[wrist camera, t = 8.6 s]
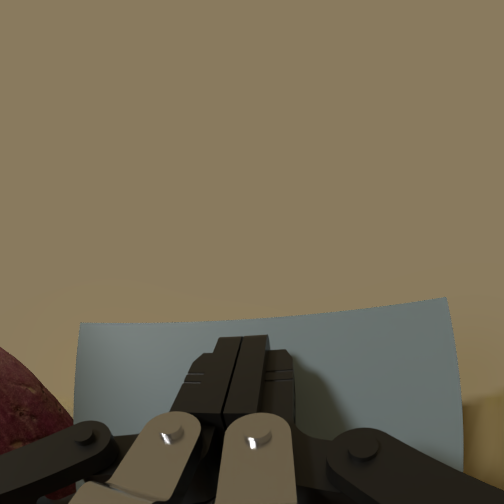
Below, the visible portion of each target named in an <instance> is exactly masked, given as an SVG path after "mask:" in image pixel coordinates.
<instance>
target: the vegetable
mask: <svg viewBox="0 0 504 504" xmlns="http://www.w3.org/2000/svg"><path fill="white" fill-rule="evenodd" d="M72 425H74V420H73V419H72V417H71V416H70V415H69V413H68V412H67V411H66V410H65V408H64V407H63V406H62V405H61V404H60V403H59V402H58V400H57V399H56V398H55V397H54V396H53V395H52V394H51V393H50V392H49V391H48V389H47V388H45V387H44V386H43V384H42V383H41V382H40V381H39V380H38V379H37V378H36V377H35V375H34V374H33V373H32V372H31V371H30V370H29V369H28V368H26V367H25V366H24V365H23V364H22V363H21V362H20V361H18V360H17V359H16V358H15V357H14V356H12V355H11V354H9V353H8V352H6V351H5V350H4V349H2V348H1V347H0V455H2V454H4V453H7V452H10V451H12V450H15V449H17V448H20V447H22V446H25V445H28V444H30V443H32V442H35V441H37V440H40V439H42V438H45V437H47V436H49V435H52V434H54V433H56V432H59V431H61V430H63V429H65V428H68V427H70V426H72ZM74 493H76V482H75V483H73V484H71V485H69V486H66V487H64V488H62V489H59V490H57V491H55V492H52V493H50V494H47V495H45V497H46V498H48V499H51V500H59V499H62V498H64V497H67V496H69V495H71V494H74Z"/></svg>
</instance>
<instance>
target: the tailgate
mask: <svg viewBox="0 0 504 504" xmlns="http://www.w3.org/2000/svg"><path fill="white" fill-rule="evenodd" d="M267 334H268V336H269V342H270V350H279V349H286V350H287V351H288V353H289V354H290V355H291V356H292V358H293V368H294V380H295V393H296V427H297V428H298V429H299V430H300V431H302V432H303V433H304V434H306V435H308V436H311V437H314V438H318V439H324V440H331V441H332V440H333V439H334V438H336V437H337V436H338V435H340V434H341V433H343V432H345V431H348V430H351V429H355V428H364V427H365V428H374V429H378V430H381V431H383V432H386V433H387V434H389V435H391V436H393V437H394V438H396V439H398V440H400V441H402V442H404V443H405V444H407V445H409V446H411V447H413V448H415V449H417V450H419V451H420V452H422V453H424V454H426V455H428V456H430V457H432V458H434V459H436V460H438V461H440V462H442V463H444V464H446V465H448V466H450V467H452V468H454V469H456V470H458V471H460V472H463V415H462V399H461V387H460V378H459V370H458V361H457V355H456V348H455V340H454V334H453V328H452V323H451V318H450V313H449V307H448V303H447V298H446V297H443V298H437V299H432V300H424V301H418V302H412V303H405V304H397V305H389V306H383V307H374V308H366V309H358V310H349V311H340V312H330V313H320V314H310V315H300V316H299V315H298V316H286V317H274V318H260V319H245V320H226V321H206V322H205V321H204V322H175V323H80V330H79V339H78V348H77V359H76V373H75V388H74V424H77V423H79V422H83V421H90V420H93V421H99V422H102V423H104V424H105V425H106V426H107V427H108V428H109V430H110V431H111V433H112V435H113V436H121V435H132V434H139V433H140V432H141V431H142V429H143V428H144V426H145V425H146V423H147V422H149V421H150V420H151V419H152V418H154V417H156V416H158V415H160V414H163V413H167V412H169V411H170V409H171V407H172V404H173V402H174V400H175V398H176V396H177V394H178V392H179V390H180V388H181V386H182V384H183V383H184V379H185V377H186V375H188V371H189V369H190V367H191V365H192V363H193V361H195V360H196V359H197V358H198V357H199V356H201V355H202V354H203V353H213V351H214V348H215V346H216V343H217V341H218V338H219V337H234V336H243V337H244V336H251V335H267ZM83 484H85V482H84V480H83V479H82V480H80V481H78V482H76V492H77V491H78V489H79V488H80V487H81V486H82V485H83Z"/></svg>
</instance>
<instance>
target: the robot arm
mask: <svg viewBox="0 0 504 504" xmlns="http://www.w3.org/2000/svg"><path fill="white" fill-rule="evenodd" d="M82 479H83V480H84V482H85V484H83V485H82V486H81V487H80V488H79V489H78V491H77V492H76V493H74V494H71V495H69V496H67V497H64V498H62V499H59V500H51V499H48V498H46V497H45V495H47V494H50V493H52V492H55V491H57V490H59V489H62V488H64V487H66V486H69V485H71V484H73V483H75V482H78V481H80V480H82ZM0 504H504V491H503V490H501V489H498V488H496V487H494V486H491V485H489V484H487V483H485V482H482V481H480V480H478V479H476V478H473V477H471V476H469V475H467V474H465V473H463V472H460V471H458V470H456V469H454V468H452V467H450V466H448V465H446V464H444V463H442V462H440V461H438V460H436V459H434V458H432V457H430V456H428V455H426V454H424V453H422V452H420V451H419V450H417V449H415V448H413V447H411V446H409V445H407V444H405V443H404V442H402V441H400V440H398V439H396V438H394V437H393V436H391V435H389V434H387V433H386V432H383V431H381V430H378V429H374V428H365V427H364V428H355V429H351V430H348V431H345V432H343V433H341V434H340V435H338V436H337V437H336V438H334V439H333V440H332V441H331V440H324V439H318V438H314V437H311V436H308V435H306V434H304V433H303V432H302V431H300V430H299V429H298V428H297V427H296V393H295V380H294V368H293V358H292V356H291V355H290V354H289V353H288V351H287V350H286V349H279V350H270V342H269V336H268V334H267V335H251V336H244V337H243V336H234V337H219V338H218V341H217V343H216V346H215V348H214V351H213V353H203V354H202V355H201V356H199V357H198V358H197V359H196V360H195V361H193V363H192V365H191V367H190V369H189V371H188V375H186V377H185V379H184V383H183V384H182V386H181V388H180V390H179V392H178V394H177V396H176V398H175V400H174V402H173V404H172V407H171V409H170V411H169V412H167V413H163V414H160V415H158V416H156V417H154V418H152V419H151V420H150V421H149V422H147V423H146V425H145V426H144V428H143V429H142V431H141V432H140V433H139V434H132V435H121V436H113V435H112V433H111V431H110V430H109V428H108V427H107V426H106V425H105V424H104V423H102V422H99V421H93V420H90V421H83V422H79V423H77V424H74V425H72V426H70V427H68V428H65V429H63V430H61V431H59V432H56V433H54V434H52V435H49V436H47V437H45V438H42V439H40V440H37V441H35V442H32V443H30V444H28V445H25V446H22V447H20V448H17V449H15V450H12V451H10V452H7V453H4V454H2V455H0Z"/></svg>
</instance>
